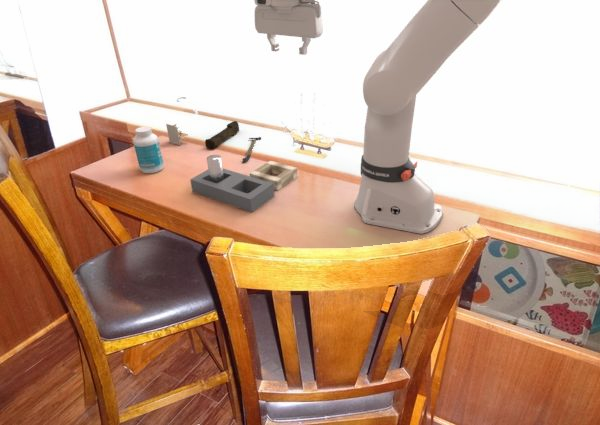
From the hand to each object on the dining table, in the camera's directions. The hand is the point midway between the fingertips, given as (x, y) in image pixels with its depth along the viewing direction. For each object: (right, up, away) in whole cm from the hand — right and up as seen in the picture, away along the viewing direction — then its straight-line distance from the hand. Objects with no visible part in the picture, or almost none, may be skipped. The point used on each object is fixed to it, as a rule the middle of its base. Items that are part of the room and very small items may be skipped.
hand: (289, 52), depth 121 cm
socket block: (-5, -35, +9) cm, 36 cm away
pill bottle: (-44, -31, +18) cm, 57 cm away
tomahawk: (-15, -24, +29) cm, 40 cm away
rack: (-16, -39, +3) cm, 42 cm away
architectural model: (-41, -20, +36) cm, 58 cm away
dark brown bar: (-25, -18, +37) cm, 48 cm away
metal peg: (-21, -38, +5) cm, 43 cm away
